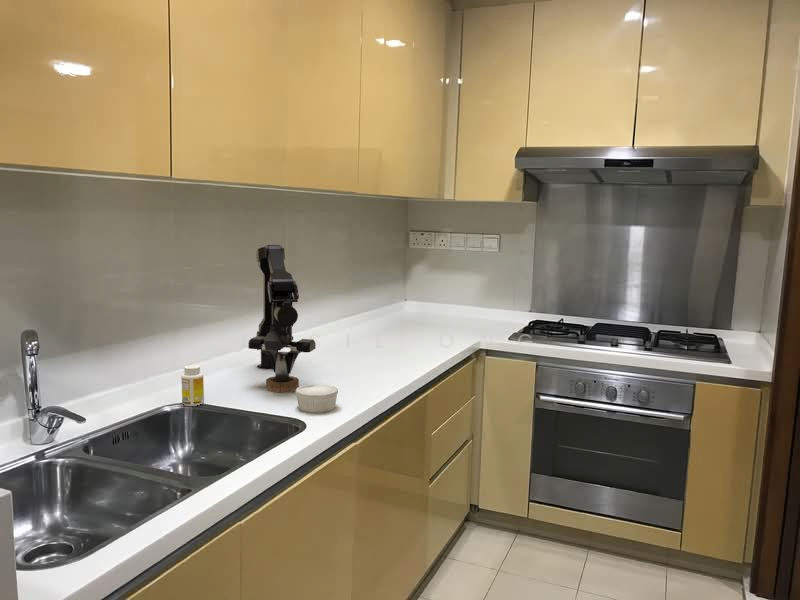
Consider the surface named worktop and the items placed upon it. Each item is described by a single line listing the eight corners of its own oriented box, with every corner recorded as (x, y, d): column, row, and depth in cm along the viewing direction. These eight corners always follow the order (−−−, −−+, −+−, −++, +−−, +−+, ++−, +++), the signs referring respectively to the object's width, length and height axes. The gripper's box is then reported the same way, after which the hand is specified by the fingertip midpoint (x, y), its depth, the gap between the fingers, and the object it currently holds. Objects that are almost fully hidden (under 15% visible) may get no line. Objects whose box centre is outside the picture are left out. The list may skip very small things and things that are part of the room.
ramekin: (317, 399, 183) (317, 381, 182) (346, 408, 176) (347, 388, 175) (286, 408, 174) (286, 389, 173) (316, 417, 167) (316, 397, 166)
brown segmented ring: (273, 382, 199) (273, 374, 199) (302, 385, 197) (302, 376, 197) (261, 390, 190) (261, 382, 190) (291, 393, 188) (291, 384, 188)
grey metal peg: (278, 380, 196) (278, 351, 195) (291, 381, 195) (291, 352, 194) (273, 384, 192) (273, 354, 191) (286, 385, 191) (286, 354, 190)
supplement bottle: (205, 400, 180) (205, 364, 178) (201, 406, 174) (200, 369, 173) (184, 401, 179) (183, 364, 178) (180, 407, 174) (178, 369, 172)
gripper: (239, 323, 185) (240, 377, 187) (303, 326, 181) (303, 382, 183) (256, 317, 196) (256, 368, 198) (316, 320, 192) (316, 372, 194)
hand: (282, 373), depth 193 cm, fingers closed on grey metal peg, 4 cm apart
